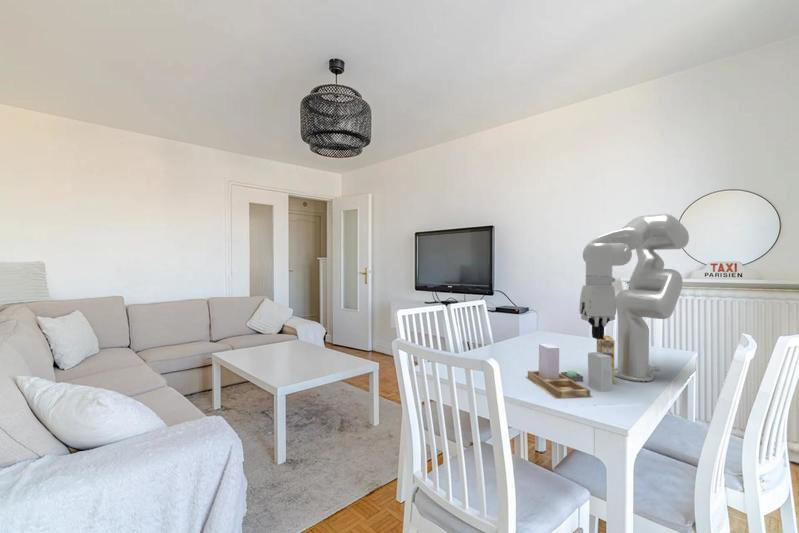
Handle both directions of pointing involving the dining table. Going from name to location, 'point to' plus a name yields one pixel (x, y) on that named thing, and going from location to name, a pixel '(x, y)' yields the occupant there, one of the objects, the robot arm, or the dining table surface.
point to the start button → (571, 373)
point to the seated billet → (548, 361)
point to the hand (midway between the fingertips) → (597, 338)
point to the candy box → (607, 349)
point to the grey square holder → (573, 377)
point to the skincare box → (600, 371)
